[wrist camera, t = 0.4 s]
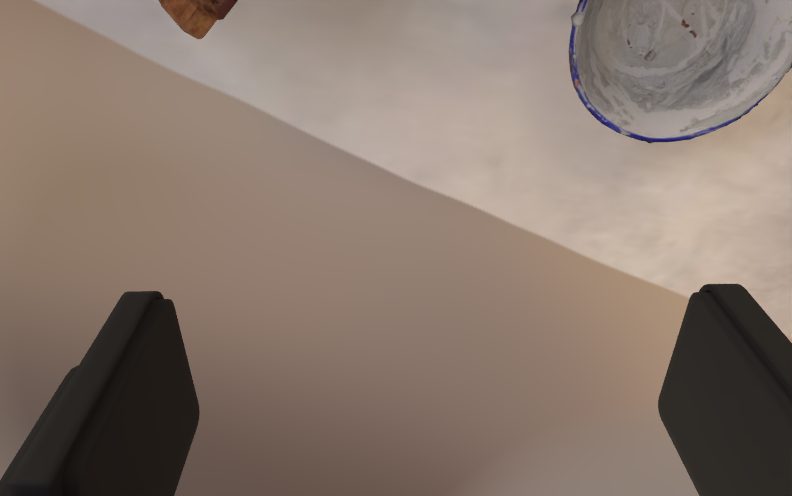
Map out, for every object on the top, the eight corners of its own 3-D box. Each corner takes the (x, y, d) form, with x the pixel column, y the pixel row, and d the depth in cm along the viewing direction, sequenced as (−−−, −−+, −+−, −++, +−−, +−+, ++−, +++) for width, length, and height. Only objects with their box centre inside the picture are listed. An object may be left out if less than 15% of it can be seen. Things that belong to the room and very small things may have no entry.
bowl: (558, 135, 41) (578, 164, 37) (541, -78, 34) (562, -71, 30) (759, 93, 40) (803, 119, 35) (781, -136, 33) (838, -137, 29)
